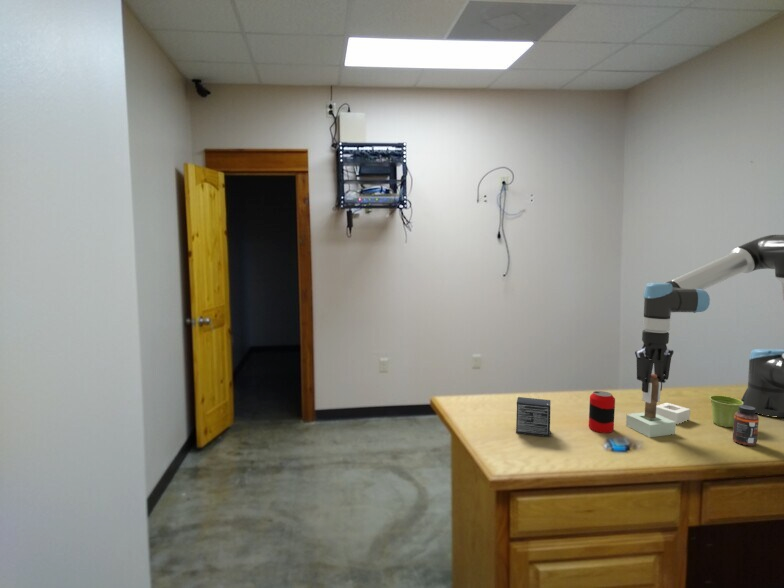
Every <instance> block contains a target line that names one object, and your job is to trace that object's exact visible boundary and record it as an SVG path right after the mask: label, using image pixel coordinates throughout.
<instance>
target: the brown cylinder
mask: <svg viewBox="0 0 784 588" xmlns="http://www.w3.org/2000/svg"><path fill="white" fill-rule="evenodd" d="M650 383H652V392H651V403H647V402H645V401H644V402H645V406H644V412H645V417H648V418H656V406H657V405H658V404H657V403H658V402H657V392H658V378H657V375H655V373H652V374H651V379H650Z"/></svg>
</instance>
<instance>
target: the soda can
mask: <svg viewBox="0 0 784 588" xmlns="http://www.w3.org/2000/svg"><path fill="white" fill-rule="evenodd" d="M615 406H616V398H615V396H614V395H613V393H611V392H608V391H603V390H596V391H595V390H594V391H593V392H592V394H591V395H590V396H589V407H588V408H589V413H588V427H589V429H590V430H592V431H594V432H596V433H599V434H600V433H601V434H609V433H612V432H613V431H614V428H615V426H614V425H615V408H616V407H615Z"/></svg>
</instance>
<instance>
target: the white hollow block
mask: <svg viewBox="0 0 784 588" xmlns="http://www.w3.org/2000/svg"><path fill="white" fill-rule="evenodd" d="M656 414H658V415H660V416H663V417H665V418H667V419H670V420H672V421H674V422H676V424H677V425H679V423H680V424H682V422H683V423H685V422H684V421H686V422H688V421H687V420H689V421H690V418H691V417H690V415H691V408H688V407H684V406H681V405H678V404H673V403H670V402H664V403H661V404H657V406H656Z"/></svg>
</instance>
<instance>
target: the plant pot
mask: <svg viewBox="0 0 784 588" xmlns="http://www.w3.org/2000/svg"><path fill="white" fill-rule="evenodd" d="M709 400H710V403H711V407H712V408H711V409H712V410H711V411H712V423H713V424H715V425H717V424H718V425H717V426H719V425H721V426H720V427H722V426H726V427H725V428H733V427H734V415H735V413H736V412H738V411H739V406H740V405H743V404H744V403H743V401H741V399H739V398H736V397H731V396H727V395H719V394H717V395H716V394H715V395H710V396H709Z"/></svg>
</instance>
